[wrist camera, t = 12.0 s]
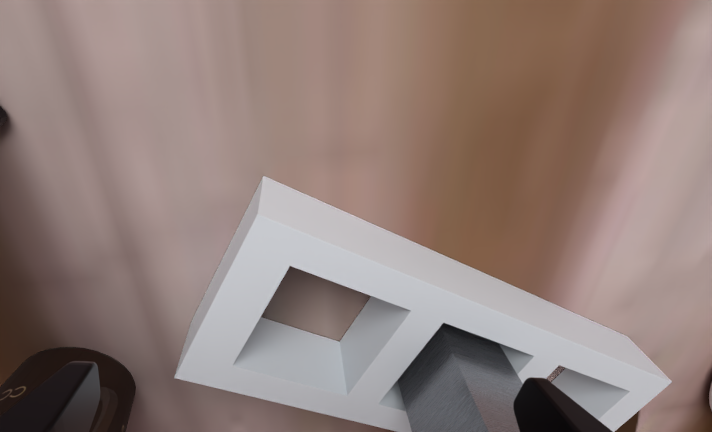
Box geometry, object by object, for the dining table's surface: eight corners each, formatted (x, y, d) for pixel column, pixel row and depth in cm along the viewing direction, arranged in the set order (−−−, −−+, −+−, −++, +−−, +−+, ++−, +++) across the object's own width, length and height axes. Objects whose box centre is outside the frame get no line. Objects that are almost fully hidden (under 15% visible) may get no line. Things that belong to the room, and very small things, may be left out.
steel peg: (387, 343, 26) (450, 570, 16) (425, 292, 25) (522, 507, 14) (442, 361, 28) (532, 578, 18) (481, 314, 26) (606, 522, 16)
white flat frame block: (191, 320, 23) (174, 377, 20) (263, 175, 20) (257, 214, 16) (537, 422, 33) (566, 472, 29) (627, 336, 29) (672, 381, 26)
